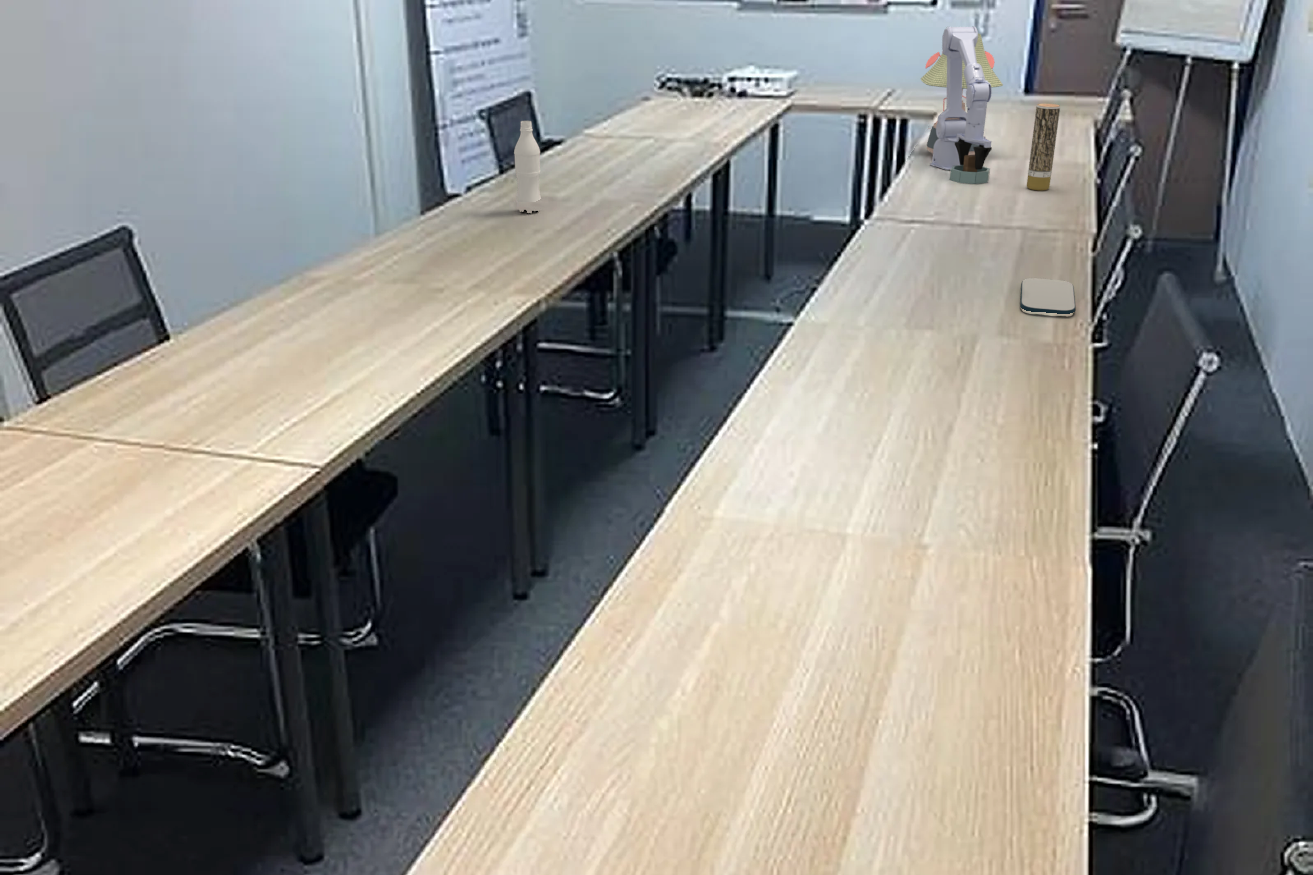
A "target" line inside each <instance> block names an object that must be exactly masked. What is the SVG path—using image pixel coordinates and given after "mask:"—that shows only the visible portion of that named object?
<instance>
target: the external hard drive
mask: <svg viewBox="0 0 1313 875" xmlns="http://www.w3.org/2000/svg"><path fill="white" fill-rule="evenodd" d="M1075 297H1076V296H1075V287H1074V284H1073V283H1072V282H1070V281H1067V280H1063V279H1062V280H1061V279H1051V278H1050V279H1049V278H1041V277H1040V278H1039V277H1034V278H1033V277H1028V278H1024V279H1022V280H1021V284H1020V298H1019V301H1020V302H1019V307H1021V308H1022V309H1024V310H1026V311H1031V312H1046V313H1057V314H1070V313H1073V312H1075V313H1076V299H1075Z"/></svg>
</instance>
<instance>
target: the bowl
mask: <svg viewBox="0 0 1313 875" xmlns="http://www.w3.org/2000/svg"><path fill="white" fill-rule="evenodd" d="M963 166H964V165H956V166H952V168H951V170H950V172H949V173H950V174H949V181H952V182H956V183H958V184H970V185H971V184H972V185H978V184H988V182H989V181H990V175H991V174H990V173H991V168H990V167H987V166H983V167H982V169H979V170H977V172H966V171H963Z"/></svg>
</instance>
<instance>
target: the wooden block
mask: <svg viewBox="0 0 1313 875" xmlns="http://www.w3.org/2000/svg"><path fill="white" fill-rule="evenodd" d="M963 171H966V172H977V170H976V169H975V154H974V155H965V156H964V166H963Z"/></svg>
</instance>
